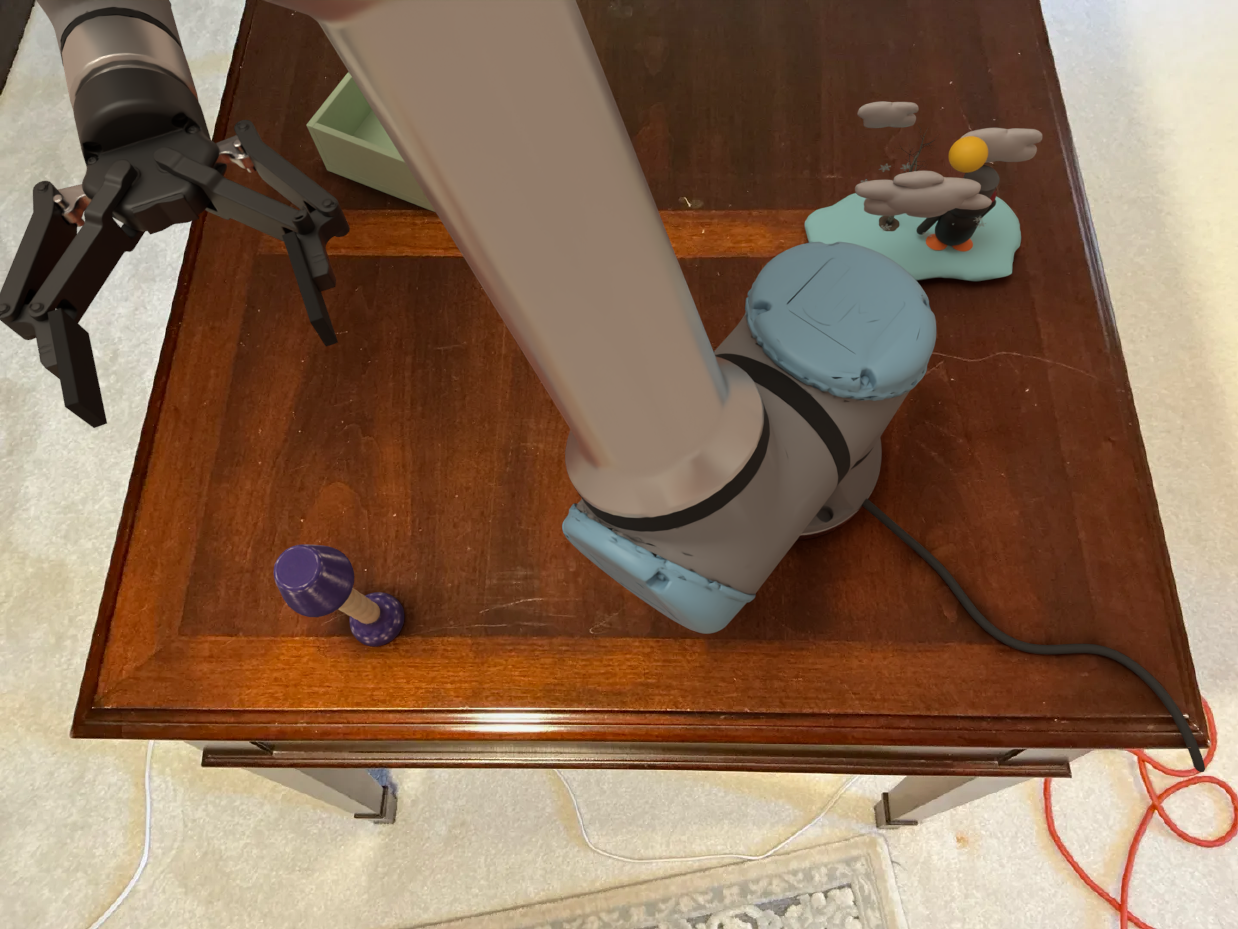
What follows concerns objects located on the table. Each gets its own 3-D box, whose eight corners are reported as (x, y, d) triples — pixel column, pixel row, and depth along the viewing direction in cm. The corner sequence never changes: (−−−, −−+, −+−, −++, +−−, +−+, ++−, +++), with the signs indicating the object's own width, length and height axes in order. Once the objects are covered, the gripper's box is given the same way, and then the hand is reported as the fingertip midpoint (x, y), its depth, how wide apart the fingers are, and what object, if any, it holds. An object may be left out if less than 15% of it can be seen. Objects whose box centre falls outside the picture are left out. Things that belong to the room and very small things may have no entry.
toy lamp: (400, 654, 66) (329, 603, 50) (340, 653, 66) (251, 602, 50) (407, 593, 68) (341, 526, 52) (349, 592, 68) (266, 525, 52)
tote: (496, 123, 86) (486, 75, 81) (435, 212, 82) (420, 168, 77) (391, 85, 89) (375, 36, 83) (327, 170, 84) (305, 124, 79)
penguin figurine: (1006, 200, 82) (1083, 72, 68) (1026, 293, 78) (1113, 177, 64) (798, 201, 82) (832, 74, 68) (808, 295, 78) (846, 179, 64)
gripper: (341, 98, 61) (432, 333, 53) (-17, 209, 57) (26, 477, 50) (304, 6, 54) (402, 261, 46) (-105, 125, 50) (-71, 422, 43)
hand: (208, 373), depth 48 cm, fingers open, 13 cm apart
